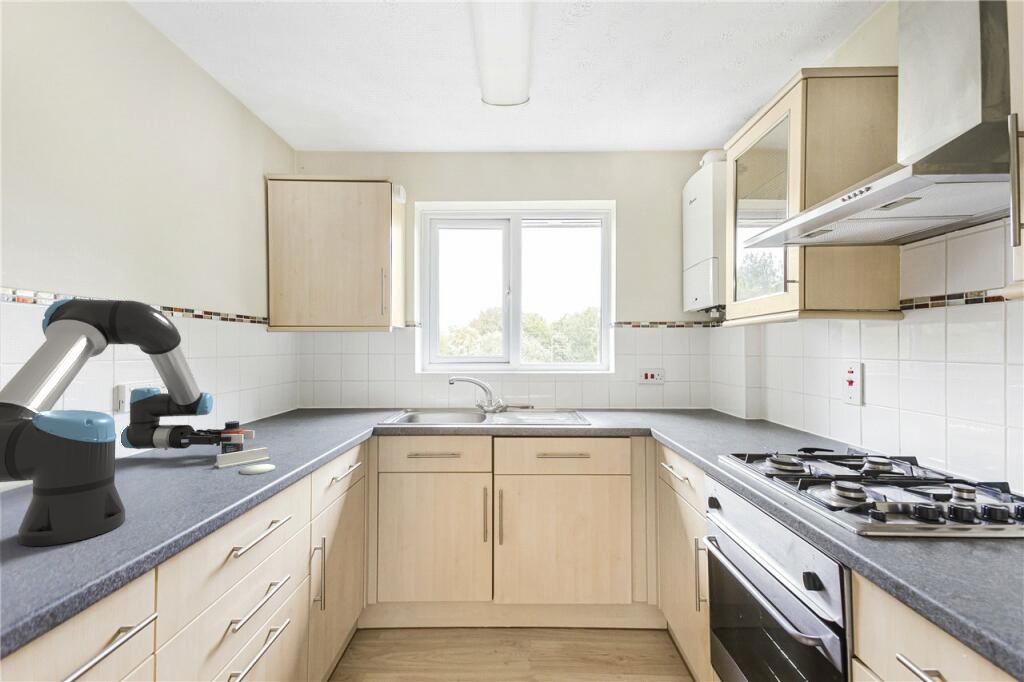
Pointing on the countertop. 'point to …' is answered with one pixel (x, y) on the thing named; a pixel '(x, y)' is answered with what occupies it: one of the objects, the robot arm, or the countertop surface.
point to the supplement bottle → (231, 428)
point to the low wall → (242, 458)
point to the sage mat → (257, 469)
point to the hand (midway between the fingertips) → (248, 436)
